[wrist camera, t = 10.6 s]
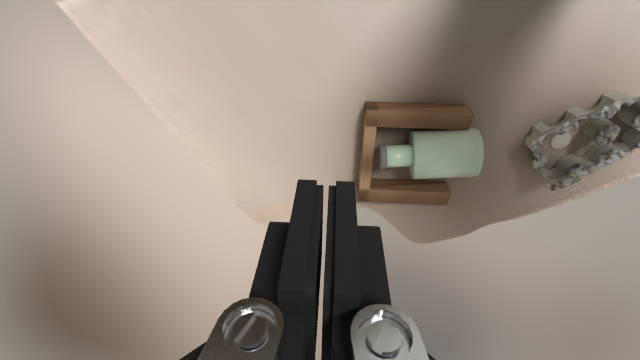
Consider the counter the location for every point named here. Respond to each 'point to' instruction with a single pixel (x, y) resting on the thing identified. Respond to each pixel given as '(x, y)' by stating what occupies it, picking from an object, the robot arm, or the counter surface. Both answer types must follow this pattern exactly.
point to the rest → (405, 118)
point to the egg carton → (596, 128)
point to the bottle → (437, 154)
